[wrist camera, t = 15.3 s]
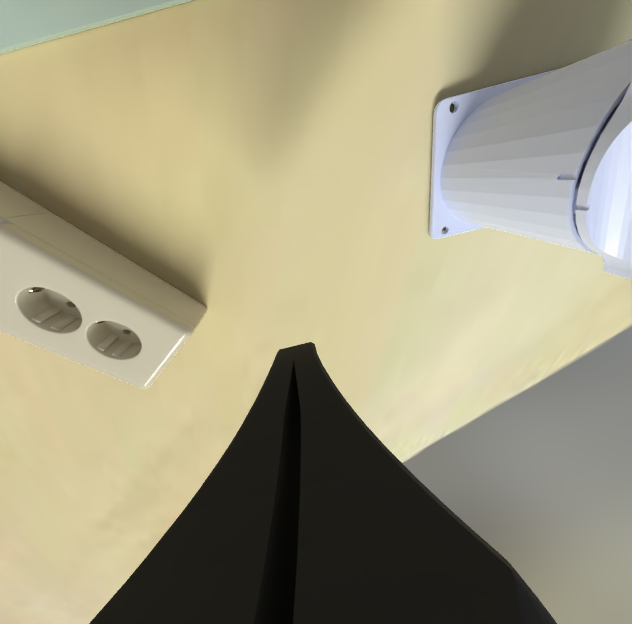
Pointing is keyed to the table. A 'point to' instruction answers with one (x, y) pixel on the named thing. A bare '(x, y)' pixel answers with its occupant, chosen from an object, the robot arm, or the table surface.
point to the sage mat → (64, 18)
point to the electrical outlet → (86, 297)
